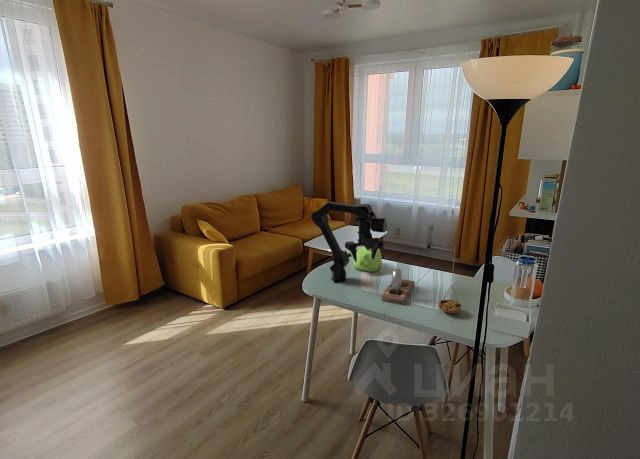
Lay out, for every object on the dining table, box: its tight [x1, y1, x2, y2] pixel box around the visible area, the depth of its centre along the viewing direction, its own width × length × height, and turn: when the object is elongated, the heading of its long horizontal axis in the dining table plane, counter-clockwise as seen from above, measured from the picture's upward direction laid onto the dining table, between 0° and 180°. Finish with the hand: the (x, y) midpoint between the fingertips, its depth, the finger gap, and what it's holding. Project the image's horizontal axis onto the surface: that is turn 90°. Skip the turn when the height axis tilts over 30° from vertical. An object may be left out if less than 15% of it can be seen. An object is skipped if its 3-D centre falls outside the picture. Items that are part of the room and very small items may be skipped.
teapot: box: [348, 246, 383, 273], centre depth 194 cm, size 18×20×13 cm
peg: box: [391, 269, 403, 296], centre depth 157 cm, size 4×4×13 cm
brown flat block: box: [381, 278, 416, 306], centre depth 163 cm, size 22×10×3 cm, turn 153°
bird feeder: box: [438, 247, 462, 314], centre depth 141 cm, size 9×9×30 cm
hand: (364, 260), depth 170 cm, fingers open, 9 cm apart
